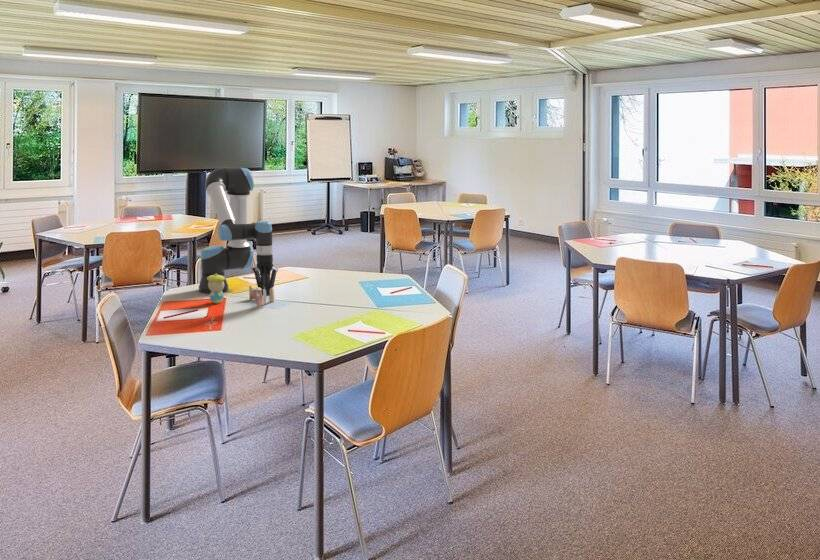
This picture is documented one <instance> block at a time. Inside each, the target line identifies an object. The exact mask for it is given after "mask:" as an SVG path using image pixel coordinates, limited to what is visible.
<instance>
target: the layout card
mask: <svg viewBox="0 0 820 560" xmlns="http://www.w3.org/2000/svg"><path fill="white" fill-rule="evenodd" d="M290 304H293V302H292V301H283V300H275V299H274V302H272V303H271V302H269V303H267V304H264V305H262V306H259V307H260V308H267V309H276V310H278V309H281V308H283V307H286V306H288V305H290ZM242 305H244V306H251V307H258V306H257V300H255V299H252V300H250V301H248V302H245V303H242Z"/></svg>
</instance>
